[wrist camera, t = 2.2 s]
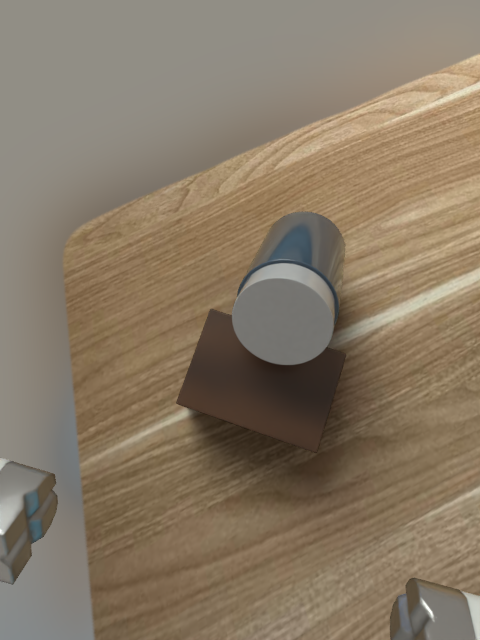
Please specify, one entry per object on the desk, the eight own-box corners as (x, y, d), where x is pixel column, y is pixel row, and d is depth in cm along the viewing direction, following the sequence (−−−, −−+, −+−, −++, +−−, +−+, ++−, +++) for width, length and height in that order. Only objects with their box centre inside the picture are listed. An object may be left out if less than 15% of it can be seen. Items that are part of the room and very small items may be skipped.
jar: (272, 225, 38) (284, 141, 26) (344, 248, 37) (391, 172, 26) (225, 359, 36) (215, 334, 24) (301, 385, 35) (330, 373, 23)
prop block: (215, 321, 36) (210, 308, 31) (332, 361, 36) (346, 353, 31) (185, 404, 35) (175, 403, 30) (306, 447, 34) (316, 453, 29)
